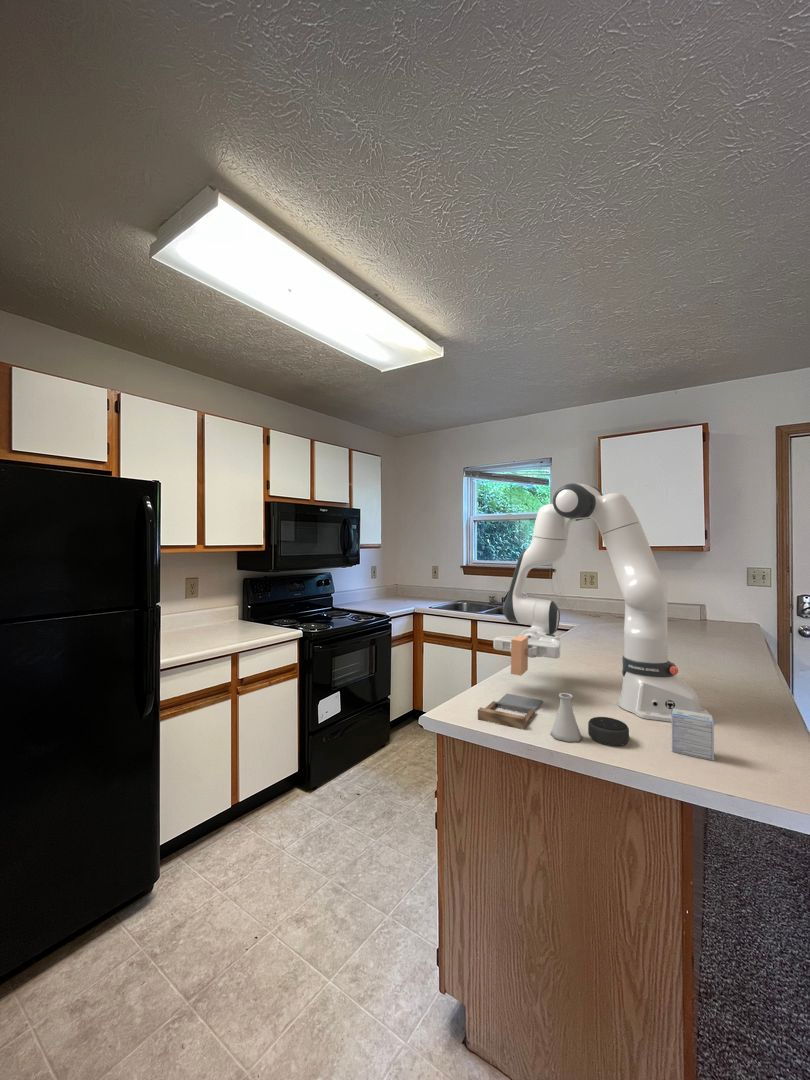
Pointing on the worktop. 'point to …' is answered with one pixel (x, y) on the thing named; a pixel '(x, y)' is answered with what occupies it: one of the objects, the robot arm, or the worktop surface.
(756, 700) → the worktop surface
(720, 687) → the worktop surface
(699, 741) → the medicine box
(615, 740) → the smart speaker
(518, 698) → the mat
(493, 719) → the wooden square frame
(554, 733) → the flask
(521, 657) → the orange rectangular block
